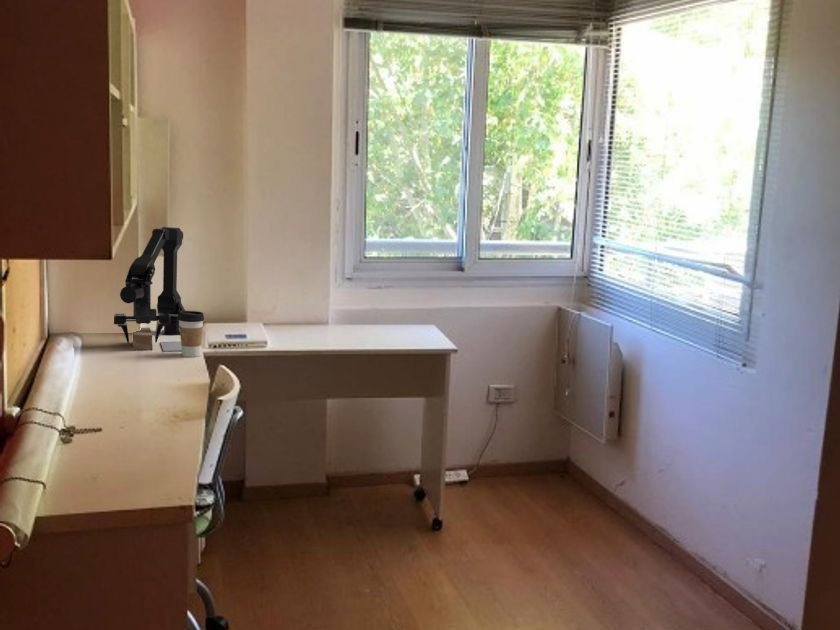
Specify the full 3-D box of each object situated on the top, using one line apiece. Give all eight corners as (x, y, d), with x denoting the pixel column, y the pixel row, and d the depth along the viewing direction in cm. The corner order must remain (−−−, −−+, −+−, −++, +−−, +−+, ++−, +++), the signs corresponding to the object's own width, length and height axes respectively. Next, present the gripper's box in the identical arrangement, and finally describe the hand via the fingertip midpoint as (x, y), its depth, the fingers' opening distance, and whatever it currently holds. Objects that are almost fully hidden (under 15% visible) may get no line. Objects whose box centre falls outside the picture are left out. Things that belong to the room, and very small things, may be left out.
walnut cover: (132, 343, 320) (132, 327, 319) (149, 342, 322) (149, 327, 321) (134, 350, 309) (134, 335, 308) (152, 350, 311) (152, 334, 310)
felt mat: (160, 342, 322) (160, 341, 322) (186, 342, 325) (186, 341, 325) (163, 351, 309) (163, 350, 309) (190, 351, 312) (190, 350, 312)
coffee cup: (176, 353, 309) (176, 309, 306) (201, 351, 312) (201, 309, 309) (180, 358, 301) (180, 314, 298) (206, 357, 305) (206, 313, 302)
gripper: (114, 303, 301) (114, 348, 304) (172, 302, 308) (171, 347, 311) (113, 297, 312) (113, 341, 315) (169, 297, 318) (168, 340, 321)
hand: (142, 342), depth 315 cm, fingers open, 9 cm apart
